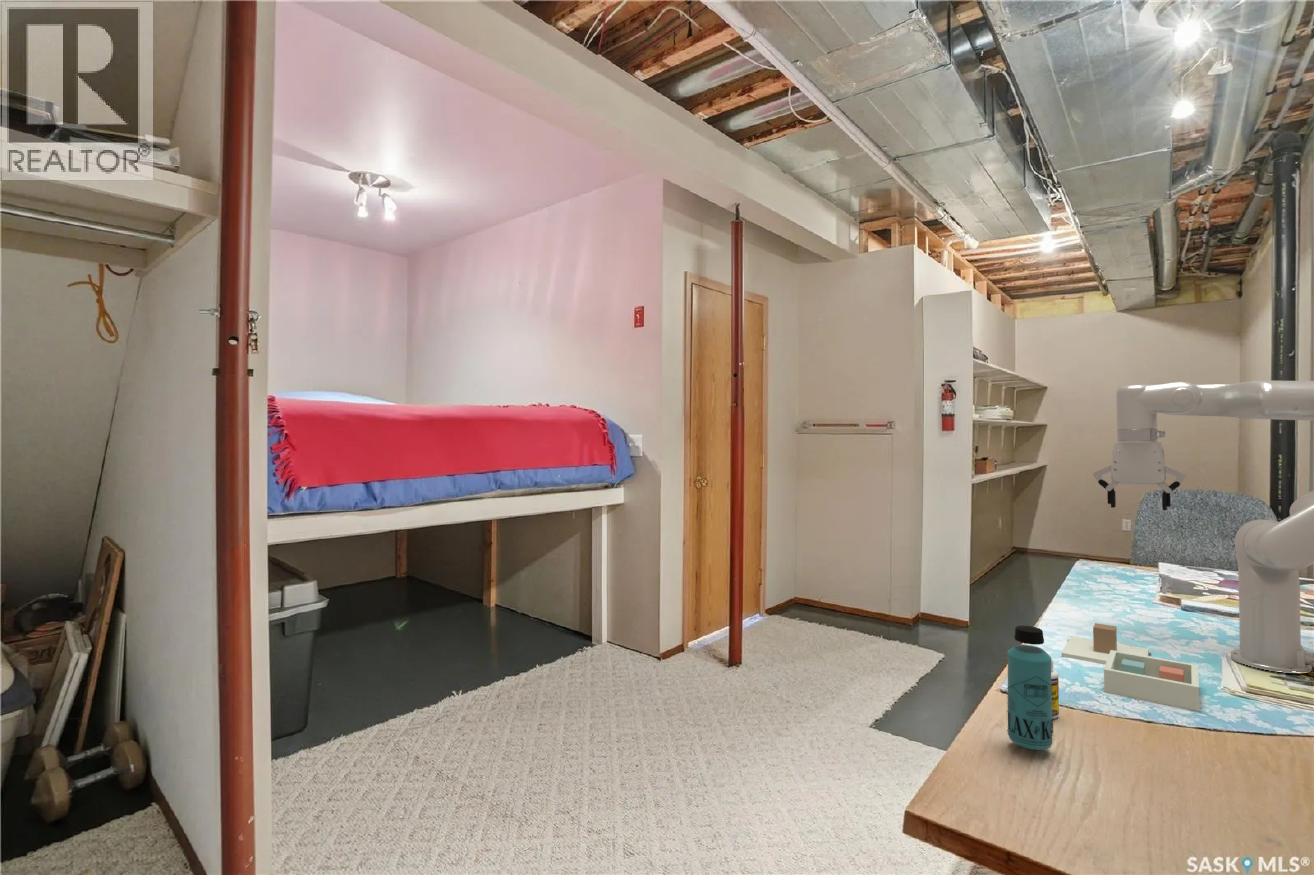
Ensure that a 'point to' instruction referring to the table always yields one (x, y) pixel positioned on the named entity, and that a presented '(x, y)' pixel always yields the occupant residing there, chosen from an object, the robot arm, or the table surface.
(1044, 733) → the beverage bottle
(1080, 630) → the table surface
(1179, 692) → the box
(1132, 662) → the teal block
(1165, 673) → the red block
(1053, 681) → the supplement bottle
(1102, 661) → the lid
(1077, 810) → the table surface
